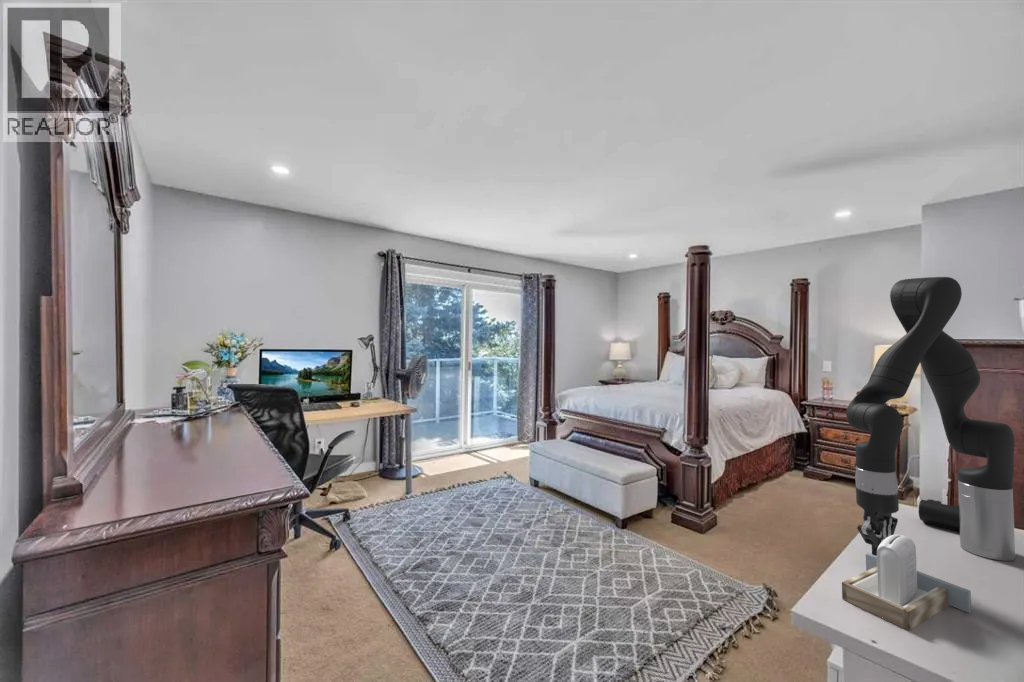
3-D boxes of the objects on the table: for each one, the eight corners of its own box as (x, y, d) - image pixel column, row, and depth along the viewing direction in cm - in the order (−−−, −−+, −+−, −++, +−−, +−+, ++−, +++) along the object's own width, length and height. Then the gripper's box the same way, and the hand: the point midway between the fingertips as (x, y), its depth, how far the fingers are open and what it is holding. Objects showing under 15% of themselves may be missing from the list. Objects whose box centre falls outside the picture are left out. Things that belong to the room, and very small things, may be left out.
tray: (933, 636, 76) (932, 614, 76) (829, 588, 92) (829, 570, 92) (971, 610, 83) (970, 590, 83) (869, 569, 98) (868, 552, 99)
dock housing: (908, 630, 79) (908, 611, 79) (842, 599, 88) (841, 582, 89) (947, 606, 85) (946, 589, 85) (881, 579, 95) (880, 564, 95)
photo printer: (894, 583, 91) (892, 527, 92) (920, 593, 88) (918, 534, 88) (874, 599, 86) (872, 539, 86) (901, 610, 82) (899, 547, 83)
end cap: (918, 524, 122) (917, 501, 122) (925, 518, 126) (924, 496, 126) (968, 537, 114) (967, 512, 114) (974, 530, 118) (973, 506, 118)
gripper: (880, 498, 92) (884, 577, 92) (910, 487, 98) (914, 561, 97) (842, 488, 99) (845, 561, 99) (872, 478, 104) (875, 547, 104)
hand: (879, 561), depth 98 cm, fingers closed
